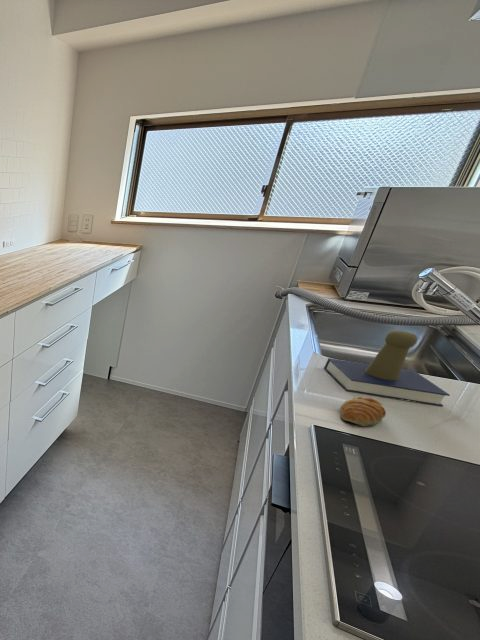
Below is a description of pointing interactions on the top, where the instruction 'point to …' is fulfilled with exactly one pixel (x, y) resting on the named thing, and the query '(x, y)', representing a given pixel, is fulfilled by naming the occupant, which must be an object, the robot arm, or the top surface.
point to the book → (384, 383)
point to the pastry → (363, 411)
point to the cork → (392, 355)
